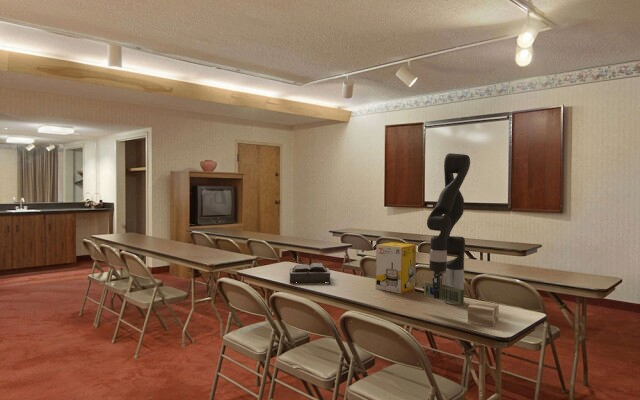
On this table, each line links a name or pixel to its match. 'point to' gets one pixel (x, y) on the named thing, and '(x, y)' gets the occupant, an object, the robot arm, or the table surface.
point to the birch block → (483, 313)
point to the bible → (309, 273)
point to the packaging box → (395, 267)
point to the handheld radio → (444, 293)
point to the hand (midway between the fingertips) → (437, 297)
